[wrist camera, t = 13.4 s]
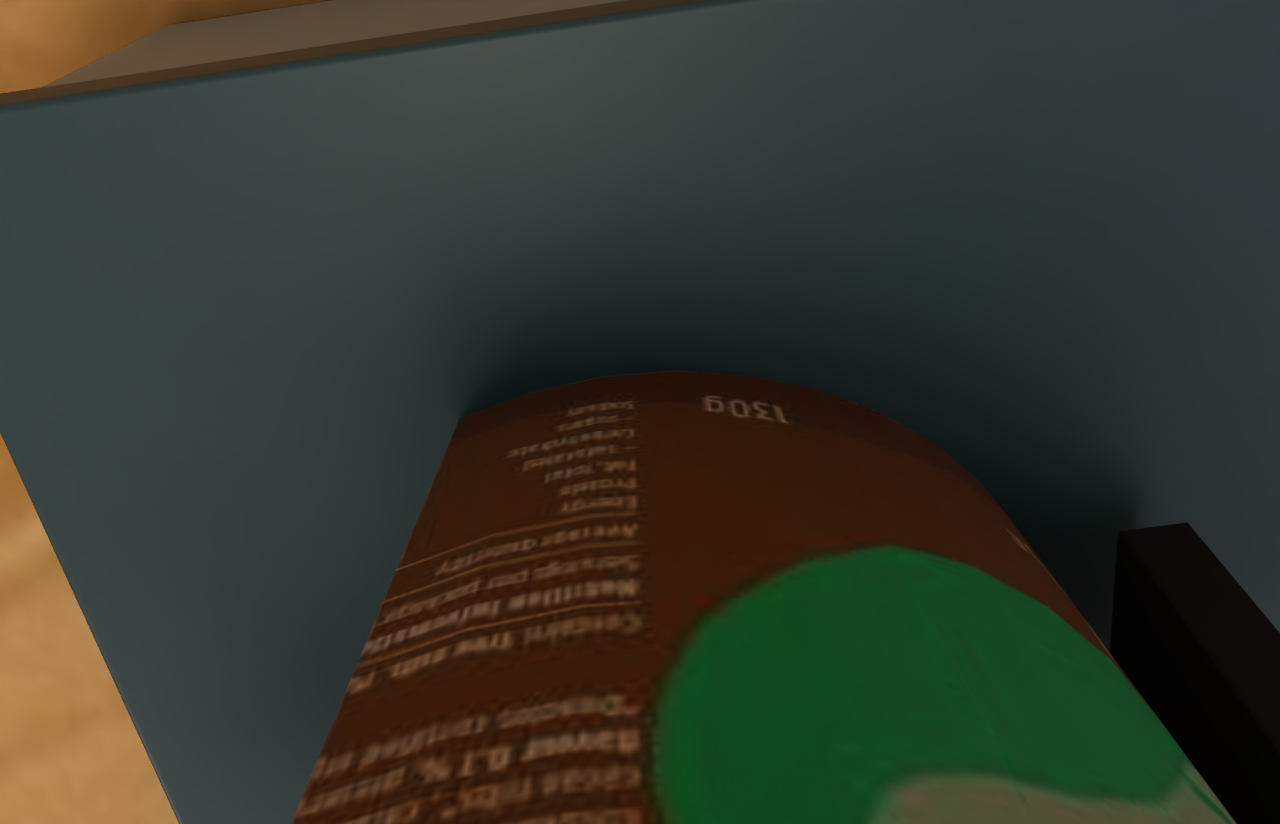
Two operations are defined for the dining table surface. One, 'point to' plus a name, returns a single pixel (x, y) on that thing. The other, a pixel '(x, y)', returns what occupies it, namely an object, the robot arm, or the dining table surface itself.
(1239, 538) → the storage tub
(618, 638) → the food container
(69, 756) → the dining table surface
